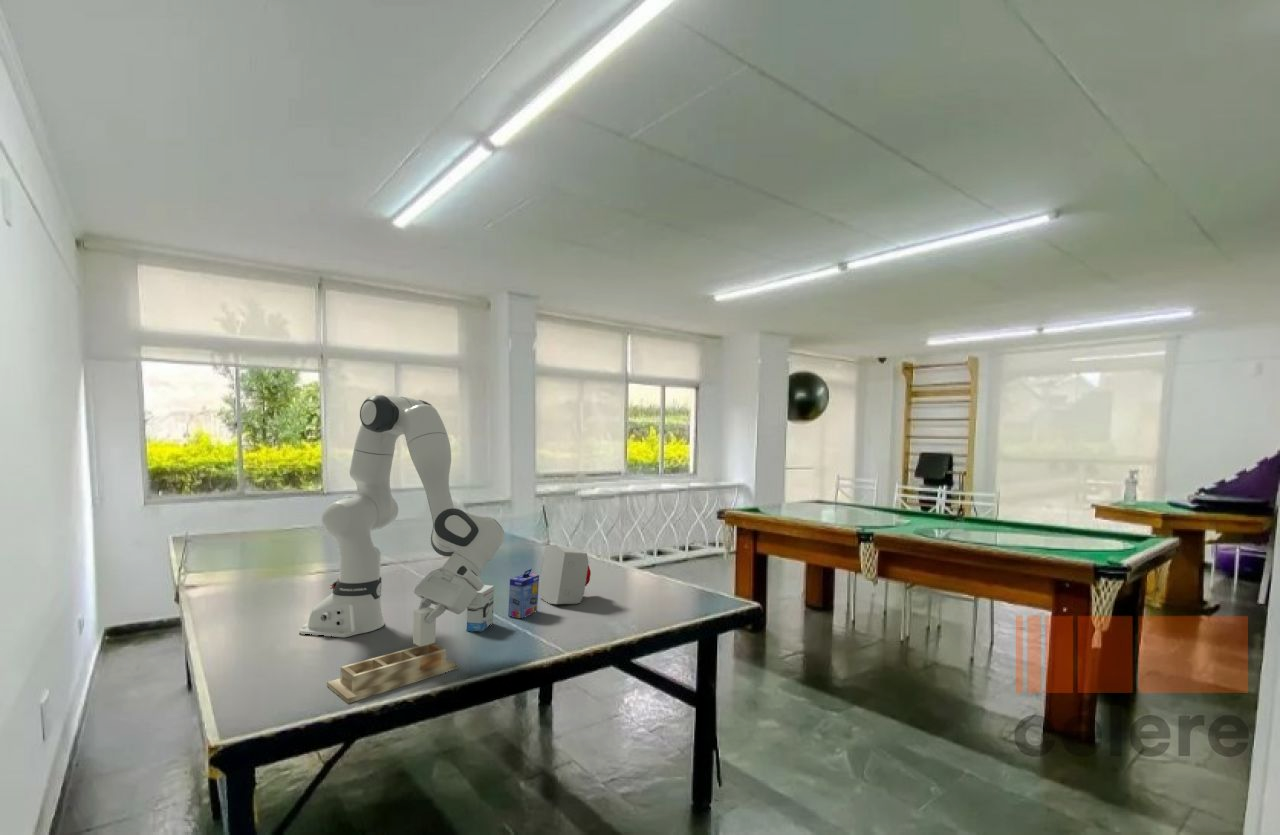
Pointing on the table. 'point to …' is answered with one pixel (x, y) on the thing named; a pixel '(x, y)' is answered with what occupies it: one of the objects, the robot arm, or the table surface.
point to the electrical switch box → (563, 575)
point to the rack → (390, 672)
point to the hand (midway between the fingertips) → (422, 619)
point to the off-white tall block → (423, 628)
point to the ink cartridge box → (523, 594)
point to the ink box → (481, 609)
